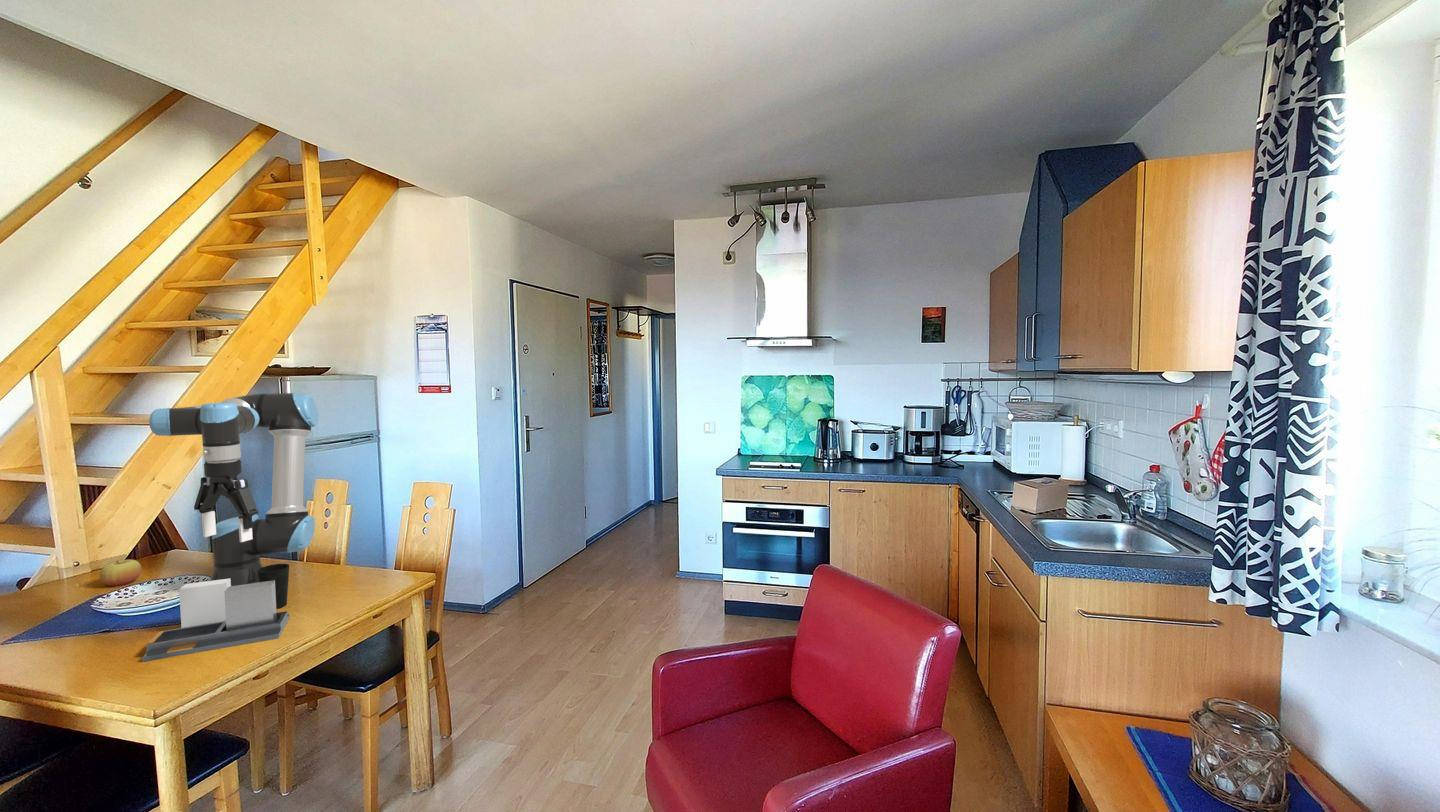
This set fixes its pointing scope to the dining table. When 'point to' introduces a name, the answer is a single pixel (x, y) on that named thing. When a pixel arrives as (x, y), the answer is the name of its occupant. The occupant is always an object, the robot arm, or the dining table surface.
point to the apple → (120, 572)
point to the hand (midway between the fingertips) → (227, 538)
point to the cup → (276, 581)
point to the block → (203, 602)
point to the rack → (226, 624)
